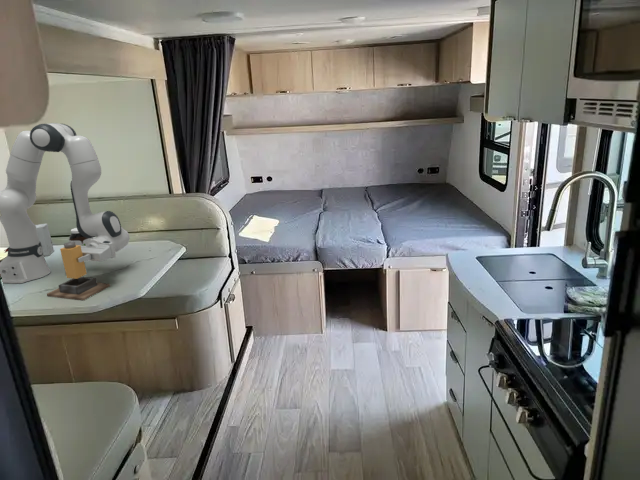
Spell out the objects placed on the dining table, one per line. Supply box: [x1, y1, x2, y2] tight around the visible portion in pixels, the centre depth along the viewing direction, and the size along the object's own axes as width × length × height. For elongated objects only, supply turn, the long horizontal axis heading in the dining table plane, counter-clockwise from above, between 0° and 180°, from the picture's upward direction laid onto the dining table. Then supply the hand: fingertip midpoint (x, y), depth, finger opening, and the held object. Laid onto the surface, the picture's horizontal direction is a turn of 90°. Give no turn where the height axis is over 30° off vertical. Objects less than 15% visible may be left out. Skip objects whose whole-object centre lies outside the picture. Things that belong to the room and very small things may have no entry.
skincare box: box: [35, 223, 55, 257], centre depth 231 cm, size 8×6×15 cm
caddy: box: [46, 276, 111, 301], centre depth 185 cm, size 18×14×4 cm
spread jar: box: [68, 227, 96, 246], centre depth 235 cm, size 12×11×12 cm
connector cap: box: [59, 241, 87, 279], centre depth 181 cm, size 5×5×14 cm
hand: (71, 260), depth 180 cm, fingers closed on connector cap, 5 cm apart
